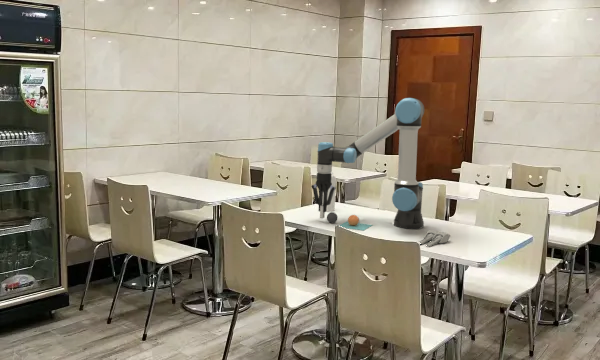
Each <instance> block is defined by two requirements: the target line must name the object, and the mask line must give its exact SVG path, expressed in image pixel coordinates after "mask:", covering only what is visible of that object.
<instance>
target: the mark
mask: <svg viewBox="0 0 600 360" xmlns="http://www.w3.org/2000/svg"><path fill="white" fill-rule="evenodd" d="M339 225H340V226H342V227H345V228H344V229H349V228H350V229H351V230H357V231H365V230H367V229H369V228H371V227H372V226H373V224H370V223H369V224H368V223H361V222H358V224H357V225H356V226H351V225H350V224H349V223H348V221H345V222H343V223H341V224H339ZM342 227H341V228H342Z"/></svg>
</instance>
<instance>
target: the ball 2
mask: <svg viewBox="0 0 600 360" xmlns="http://www.w3.org/2000/svg"><path fill="white" fill-rule="evenodd" d="M347 222H348V223H349V224H350V225H351V226H356V225H357V224H358V223H360V219H359V216H357V215H355V214H351V215H349V216H348V218H347Z"/></svg>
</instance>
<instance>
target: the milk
mask: <svg viewBox="0 0 600 360" xmlns="http://www.w3.org/2000/svg"><path fill="white" fill-rule="evenodd" d="M331 174H332V175H331V183H332V186H334V187H336V186H337V177H336V176H334V173H333V172H331ZM330 188H331V187H330ZM330 188H329V189H328V195H327V200H328V197H329V193H330ZM336 189H337V187H336ZM336 189H335V190H334V193H333V196H332V200H331V203H330V205H327V209H326V212H325V213H331V212H334V211H335V209H336V208H335V205H336ZM323 197H324V193H323ZM322 205H323V202H322Z"/></svg>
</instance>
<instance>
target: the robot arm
mask: <svg viewBox="0 0 600 360" xmlns="http://www.w3.org/2000/svg"><path fill="white" fill-rule="evenodd" d="M424 115H425V106H424V104H423V102H422V101H421V100H420V99H418V98H413V97H405V98H402V99H401V100H400V101H399V102H398V103H397V104H396V107H395V110H394V114H393V115H391V116H390V117H389V118H387V119H386V120H384V121H383V122H380V124H378V125H377V126H375V127H374V128H372V129H371V130H370V131H368V132H366V133H365V134H363V135H362V136H360V137H359V138H358V139H356V140H355V141H354V142H352V143H350V144H349V145H348V146H345V147H344V146H343V147H342V146H341V147H339V146H338V147H337V146H334V143H333V142H330V141H329V142H328V141H322V142H320V141H319V143H318V146H317V160H316V161H317V165H316V181H315V183H314V184H311V186H310V187H311V189H312V192H313V198H314V203H315V204H316V205H318V212H319V219H325V214H326V213H327V212H326V209H327V205H330V203H331V200H332V196H333V193H334V190H335V189H337V187H334V186H332V183H331V175H332V174H331V172H332V171H333V169H332V168H333V162H334V163H335V162H336V163H345V164H346V163H347V164H354V163H355V162H356V160H357V159H358V158H359V157H361V156H362V155H363V154H364V153H365V152H368V151H369V150H371V149H372V148H373V147H374V146H376V145H377V144H379V143H380V142H382V141H383V140H385V139H387V138H388V137H390V136H391V135H392V134H394V133H396V132H398V130H399V132H398V133H399V138H398V139H399V140H398V143H399V144H398V163H397V164H398V165H397V179H396V180H395V181H394V184H393V185H394V188H393V190H394V191H393V194H392V197H391V200H392V201H391V202H392V204H393V206H394V207H395V209H397V211H396V214H395V217H394V219H393V226H395V227H397V228H401V229H412V230H417V229H423V228H424V225H425V223H424V222H425V221H424V218H423V214H422V204H423V190H424V184H423V183H422V182H421V181H417V176H416V175H417V157H418V155H417V154H418V136H419V135H418V134H419V133H418V132H419V129H421V128H422V118H423V116H424ZM332 173H333V172H332ZM330 187H331V188H330ZM329 188H330V193H329V197H328V200H327V195H328V189H329ZM335 191H336V190H335ZM323 193H324V197H323ZM322 202H323V205H322Z"/></svg>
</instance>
